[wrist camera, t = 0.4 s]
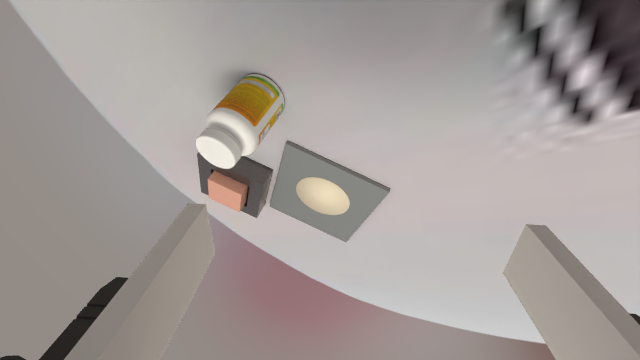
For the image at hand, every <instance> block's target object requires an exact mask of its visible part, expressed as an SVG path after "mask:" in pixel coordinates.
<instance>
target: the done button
mask: <svg viewBox="0 0 640 360" xmlns="http://www.w3.org/2000/svg"><path fill="white" fill-rule="evenodd" d="M247 190H248V186H247V185H244V184H242V183H240V182H238V181H236V180H234V179H232V178H230V177H227V176H225V175H223V174H221V173H219V172H217V171H215V170H214V172H213V173H212V174H211V175H210V177H209V178H208V191H209V198H210V199H213V200H215V201H217V202H219V203H221V204H223V205H225V206H227V207H230V208H232V209H234V210H236V211H238V212H240V211H241V209H242V208H243V206H244V205H245V203H246V198H247Z"/></svg>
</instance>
